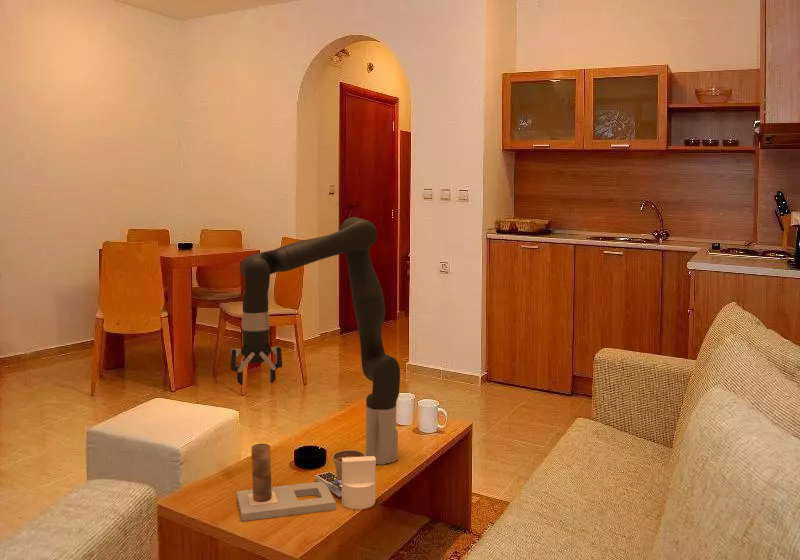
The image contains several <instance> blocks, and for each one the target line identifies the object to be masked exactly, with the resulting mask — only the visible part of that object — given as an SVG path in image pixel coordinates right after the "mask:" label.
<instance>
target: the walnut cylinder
mask: <svg viewBox="0 0 800 560" xmlns="http://www.w3.org/2000/svg"><path fill="white" fill-rule="evenodd" d="M250 452H251V473H252V474H251V476H252V478H251V479H252V489H253V500H254V501H257V502H265V501H268V500H270V499H271V498H272V490H271V487H272V465H271V464H272V463H271V445H270V444H268V443H257V444H253V445H252V446H251V451H250Z"/></svg>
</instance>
